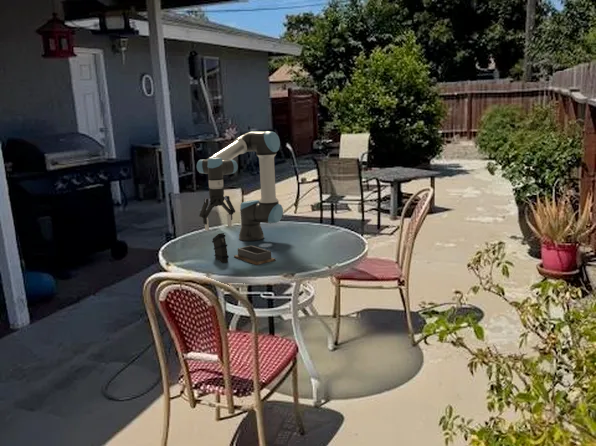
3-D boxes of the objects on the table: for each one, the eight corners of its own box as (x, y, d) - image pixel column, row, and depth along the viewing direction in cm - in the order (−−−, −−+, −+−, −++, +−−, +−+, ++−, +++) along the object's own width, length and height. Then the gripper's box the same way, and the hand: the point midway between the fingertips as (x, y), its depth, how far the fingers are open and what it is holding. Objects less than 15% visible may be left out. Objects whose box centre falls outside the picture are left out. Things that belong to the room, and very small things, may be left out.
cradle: (251, 252, 304) (251, 245, 303) (271, 258, 290) (271, 251, 289) (237, 255, 298) (237, 248, 297) (257, 262, 284) (256, 254, 284)
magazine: (224, 261, 285) (218, 233, 287) (216, 267, 296) (210, 240, 299) (231, 260, 286) (224, 232, 289) (223, 265, 298) (217, 239, 300)
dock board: (252, 253, 306) (252, 251, 306) (275, 260, 290) (275, 258, 290) (234, 257, 299) (234, 255, 298) (256, 265, 283) (256, 263, 282)
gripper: (198, 191, 276) (200, 233, 280) (240, 186, 291) (242, 225, 295) (191, 189, 281) (193, 230, 286) (233, 184, 297) (234, 224, 301)
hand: (218, 228), depth 290 cm, fingers open, 13 cm apart
